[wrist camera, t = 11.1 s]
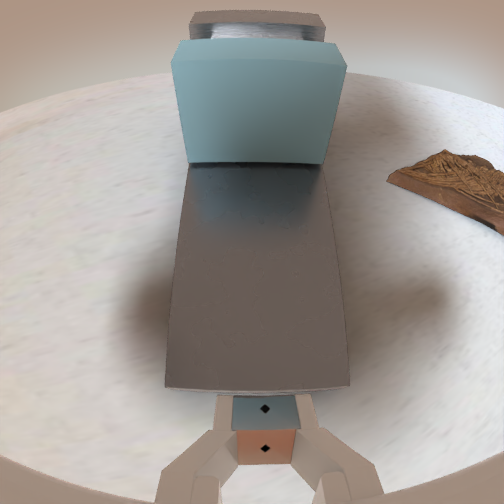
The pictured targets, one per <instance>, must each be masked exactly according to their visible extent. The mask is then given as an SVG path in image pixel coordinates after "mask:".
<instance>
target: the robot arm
mask: <svg viewBox="0 0 504 504" xmlns="http://www.w3.org/2000/svg"><path fill="white" fill-rule="evenodd" d="M259 464H291V466H292V467H293V468H294V469H295V470H296V471H297V473H298V474H299V475H300V476H301V477H302V478H303V479H304V480H305V481H306V482H307V483H308V485H309V486H310V487H311V488H312V489H313V490H314V491H315V492H316V493H315V496H314V498H313V501H312V504H504V451H502V452H500V453H498V454H496V455H494V456H492V457H490V458H488V459H486V460H483V461H481V462H479V463H477V464H474V465H472V466H470V467H467V468H465V469H462V470H460V471H457V472H455V473H452V474H449V475H446V476H444V477H441V478H438V479H435V480H432V481H429V482H426V483H423V484H420V485H416V486H413V487H409V488H406V489H402V490H399V491H395V492H391V493H387V494H384V492H383V489H382V486H381V483H380V480H379V477H378V475H377V472H376V469H375V466H374V464H372V463H371V462H369V461H368V460H367V459H365V458H364V457H362V456H361V455H360V454H358V453H357V452H355V451H354V450H353V449H351V448H350V447H349V446H347V445H346V444H345V443H343V442H342V441H341V440H339V439H338V438H337V437H335V436H334V435H333V434H331V433H330V432H329V431H327V430H326V429H325V428H319V425H318V421H317V417H316V413H315V409H314V406H313V402H312V398H311V395H310V394H294V395H275V396H242V395H234V396H232V395H218V396H217V399H216V407H215V416H214V425H213V430H208V431H207V432H206V433H205V434H203V435H202V436H201V437H200V438H199V439H198V440H197V441H196V442H195V443H193V444H192V445H191V446H190V447H189V448H188V449H187V450H186V451H184V452H183V453H182V454H181V455H180V456H179V457H177V458H176V459H175V460H174V461H173V462H172V463H170V464H169V465H168V466H167V467H166V468H164V469H163V470H162V472H161V476H160V481H159V485H158V489H157V494H156V498H155V502H154V503H153V502H147V501H142V500H136V499H131V498H126V497H122V496H117V495H113V494H109V493H105V492H101V491H97V490H93V489H89V488H86V487H83V486H79V485H76V484H73V483H70V482H66V481H63V480H61V479H58V478H55V477H52V476H49V475H46V474H44V473H41V472H39V471H36V470H34V469H31V468H29V467H26V466H24V465H22V464H19V463H17V462H15V461H12V460H10V459H8V458H6V457H4V456H2V455H0V504H222V497H221V489H220V488H221V487H222V486H223V485H224V483H225V482H226V481H227V480H228V478H229V477H230V476H231V475H232V473H233V472H234V471H235V470H236V468H237V467H238V465H259Z"/></svg>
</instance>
